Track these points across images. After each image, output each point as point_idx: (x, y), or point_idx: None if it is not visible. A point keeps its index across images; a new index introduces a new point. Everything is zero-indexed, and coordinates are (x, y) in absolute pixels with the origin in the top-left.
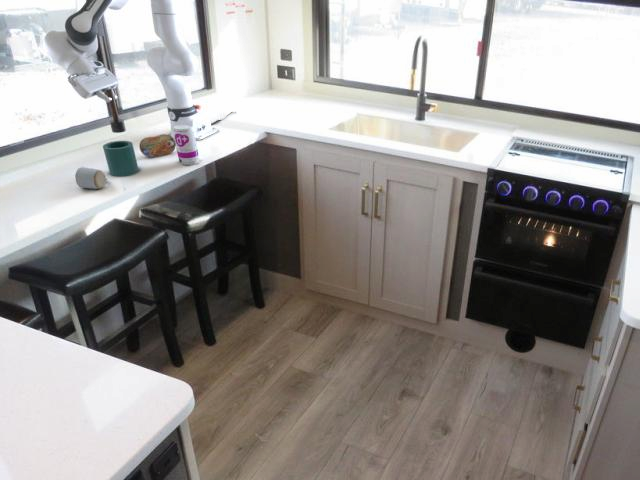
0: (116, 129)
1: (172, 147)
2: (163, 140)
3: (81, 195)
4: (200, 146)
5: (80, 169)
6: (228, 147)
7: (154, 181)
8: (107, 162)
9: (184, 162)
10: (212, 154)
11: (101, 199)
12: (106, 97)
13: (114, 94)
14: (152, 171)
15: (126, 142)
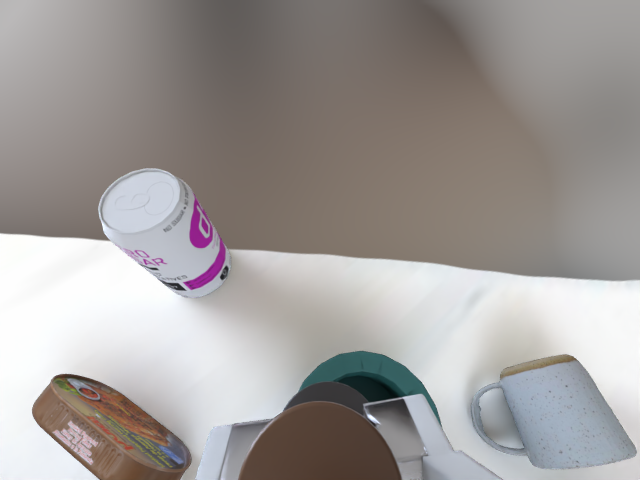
0: None
1: (90, 386)
2: (86, 404)
3: (603, 397)
4: (21, 336)
5: (619, 440)
6: (39, 243)
7: (382, 261)
8: None
9: (229, 259)
10: (115, 249)
11: (571, 306)
12: (447, 450)
13: (217, 469)
14: (313, 325)
15: None
